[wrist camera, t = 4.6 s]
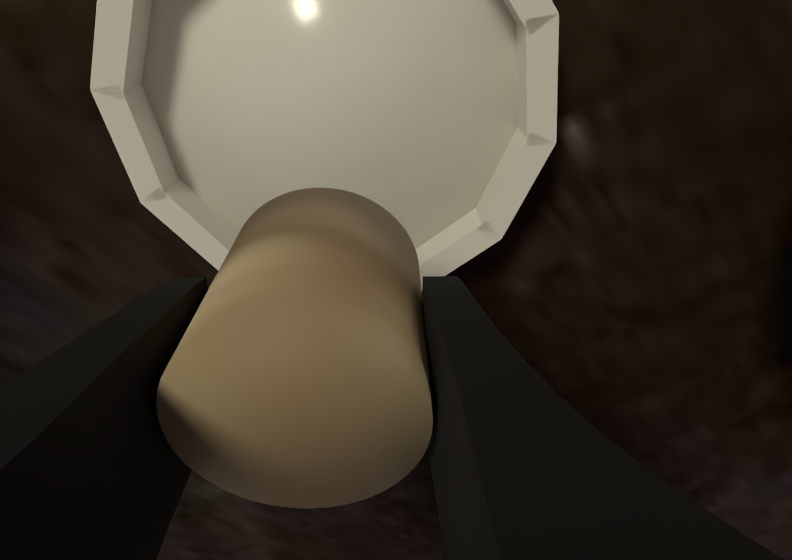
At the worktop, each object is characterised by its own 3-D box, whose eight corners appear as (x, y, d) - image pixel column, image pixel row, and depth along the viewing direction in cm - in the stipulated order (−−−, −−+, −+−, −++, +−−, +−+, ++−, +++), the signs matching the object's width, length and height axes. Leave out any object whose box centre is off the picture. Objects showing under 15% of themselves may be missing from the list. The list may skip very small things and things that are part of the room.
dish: (211, 289, 19) (193, 321, 17) (47, -113, 13) (-5, -123, 11) (538, 246, 18) (553, 276, 17) (539, -207, 12) (564, -234, 10)
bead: (251, 349, 12) (194, 511, 8) (213, 191, 10) (117, 319, 6) (420, 343, 12) (432, 504, 8) (418, 183, 10) (433, 310, 6)
